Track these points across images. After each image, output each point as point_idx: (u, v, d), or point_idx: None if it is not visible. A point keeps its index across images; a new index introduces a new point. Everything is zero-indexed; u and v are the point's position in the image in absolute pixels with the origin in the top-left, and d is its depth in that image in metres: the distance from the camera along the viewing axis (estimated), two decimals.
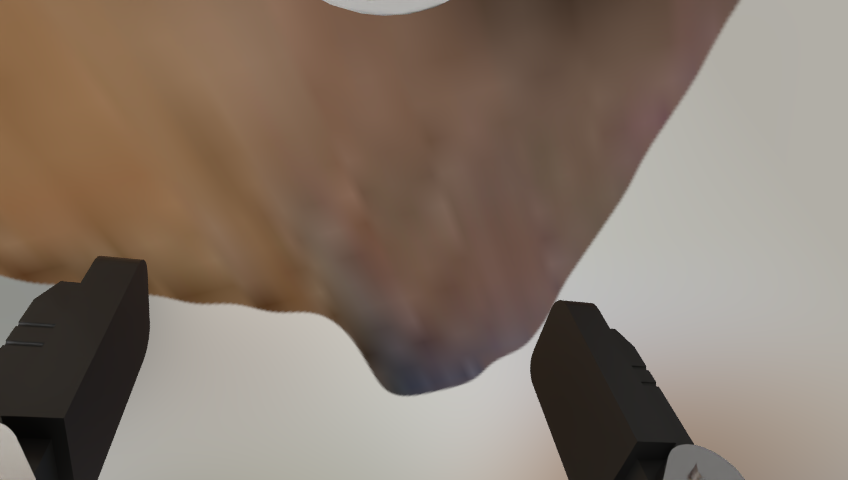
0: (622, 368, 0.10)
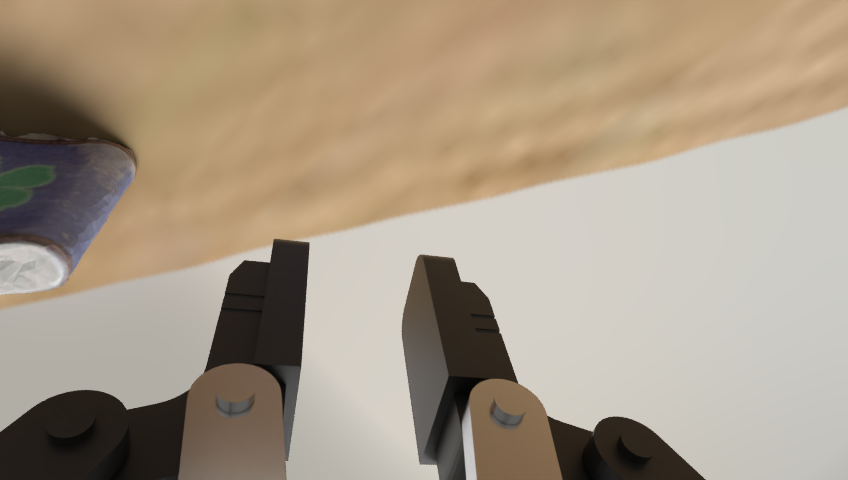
0: (458, 313, 0.10)
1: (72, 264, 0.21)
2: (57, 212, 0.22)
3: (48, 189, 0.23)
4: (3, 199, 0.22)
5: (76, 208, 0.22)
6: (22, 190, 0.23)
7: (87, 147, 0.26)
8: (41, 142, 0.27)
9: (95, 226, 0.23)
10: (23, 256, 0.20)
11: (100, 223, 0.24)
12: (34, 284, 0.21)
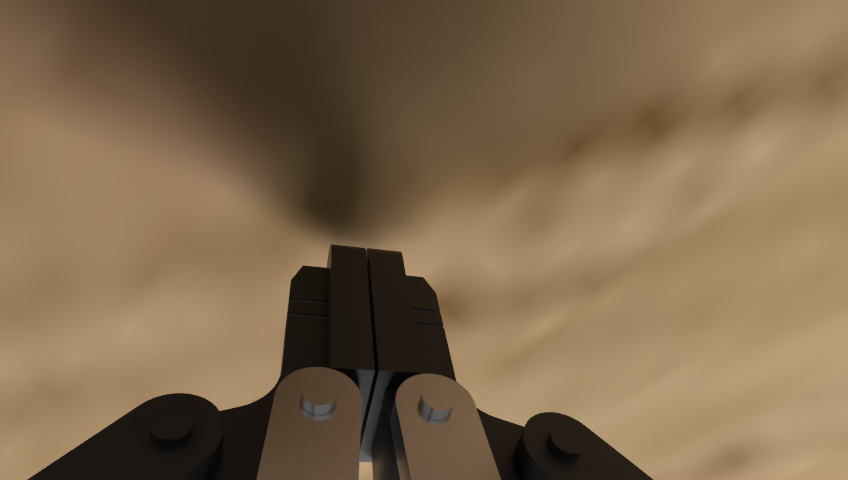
0: (398, 307, 0.10)
1: None
2: None
3: None
4: None
5: None
6: None
7: None
8: None
9: None
10: None
11: None
12: None
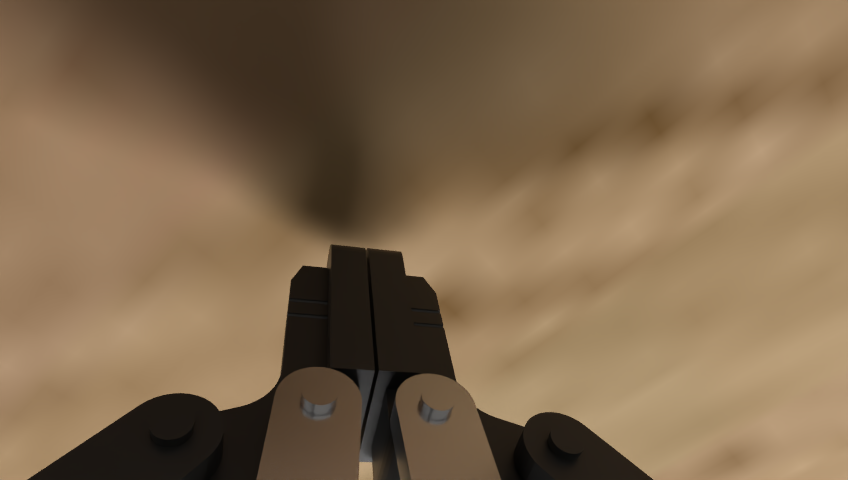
0: (398, 307, 0.10)
1: None
2: None
3: None
4: None
5: None
6: None
7: None
8: None
9: None
10: None
11: None
12: None
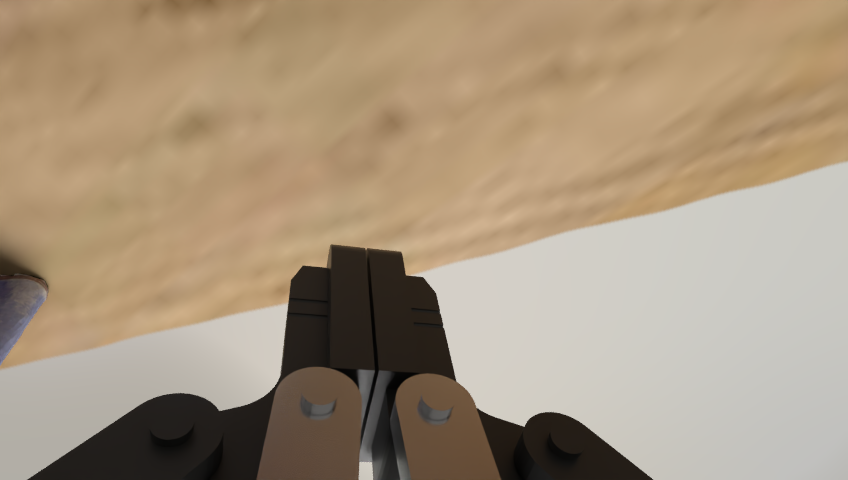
0: (398, 307, 0.10)
1: None
2: None
3: None
4: None
5: None
6: None
7: (13, 282, 0.41)
8: None
9: (11, 342, 0.38)
10: None
11: (16, 338, 0.38)
12: None
